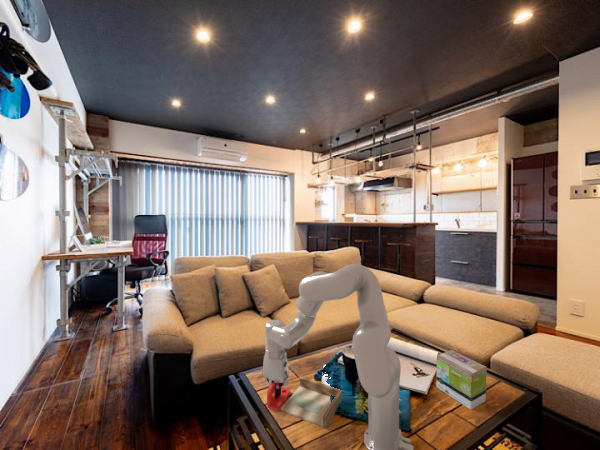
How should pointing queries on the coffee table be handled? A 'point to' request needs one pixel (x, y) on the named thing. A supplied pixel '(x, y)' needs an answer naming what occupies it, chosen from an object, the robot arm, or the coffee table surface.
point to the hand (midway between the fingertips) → (275, 394)
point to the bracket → (276, 402)
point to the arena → (313, 402)
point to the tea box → (461, 378)
